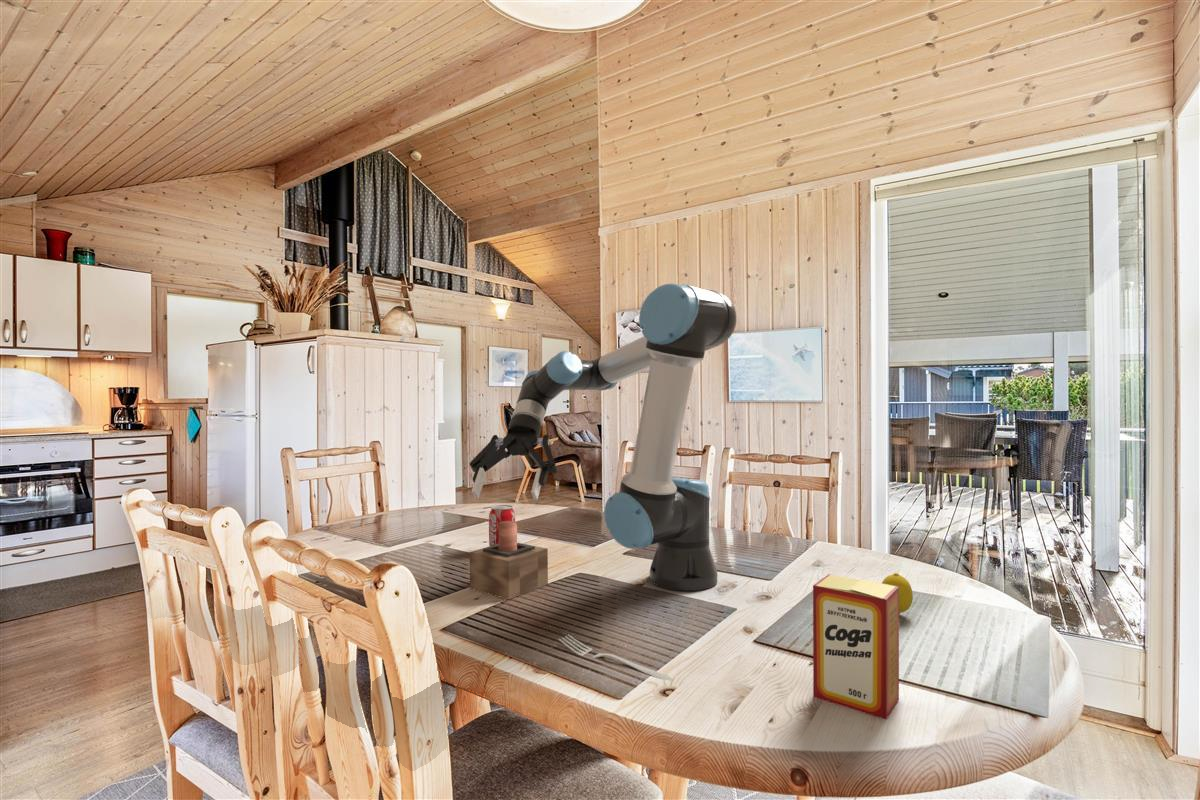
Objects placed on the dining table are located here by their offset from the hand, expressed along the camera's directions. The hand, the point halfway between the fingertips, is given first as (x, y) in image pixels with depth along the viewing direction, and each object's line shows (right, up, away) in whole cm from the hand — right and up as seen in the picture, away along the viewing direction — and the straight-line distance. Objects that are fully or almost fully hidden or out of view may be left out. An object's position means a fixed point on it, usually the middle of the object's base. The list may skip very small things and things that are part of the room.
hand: (504, 495), depth 131 cm
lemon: (+77, -20, -16) cm, 81 cm away
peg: (0, -20, +3) cm, 21 cm away
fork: (+24, -21, -36) cm, 48 cm away
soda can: (-6, -20, +32) cm, 38 cm away
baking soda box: (+56, -21, -47) cm, 76 cm away
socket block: (+1, -20, +2) cm, 21 cm away
